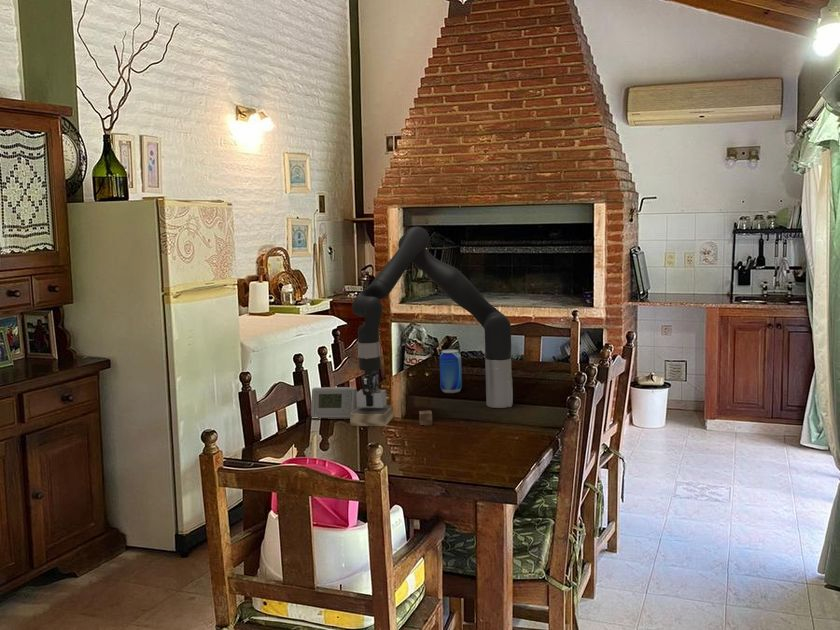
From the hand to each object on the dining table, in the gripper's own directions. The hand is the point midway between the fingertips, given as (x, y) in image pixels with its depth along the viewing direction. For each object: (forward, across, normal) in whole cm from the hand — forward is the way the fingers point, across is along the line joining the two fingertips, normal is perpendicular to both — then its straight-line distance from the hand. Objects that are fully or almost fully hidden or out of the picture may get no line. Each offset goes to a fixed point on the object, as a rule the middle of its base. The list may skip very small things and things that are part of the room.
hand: (371, 404), depth 264 cm
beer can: (+6, -46, +20) cm, 50 cm away
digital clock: (+6, -4, -15) cm, 16 cm away
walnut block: (+6, +2, +19) cm, 20 cm away
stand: (+6, 0, 0) cm, 6 cm away
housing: (+1, 0, 0) cm, 1 cm away
